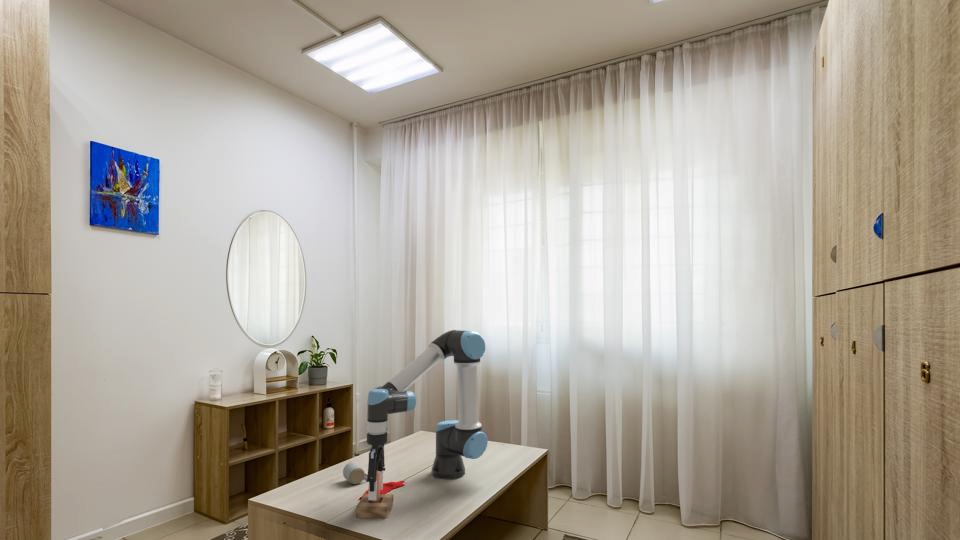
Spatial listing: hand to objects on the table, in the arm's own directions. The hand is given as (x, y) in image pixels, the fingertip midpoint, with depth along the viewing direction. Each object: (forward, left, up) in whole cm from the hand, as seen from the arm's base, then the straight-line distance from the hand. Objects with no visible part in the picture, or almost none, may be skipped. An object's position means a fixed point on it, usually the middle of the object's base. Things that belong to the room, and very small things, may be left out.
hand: (375, 494), depth 176 cm
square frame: (0, 0, -6) cm, 6 cm away
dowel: (0, 0, -6) cm, 6 cm away
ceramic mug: (+15, -29, -6) cm, 34 cm away
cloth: (+2, -21, -7) cm, 22 cm away
